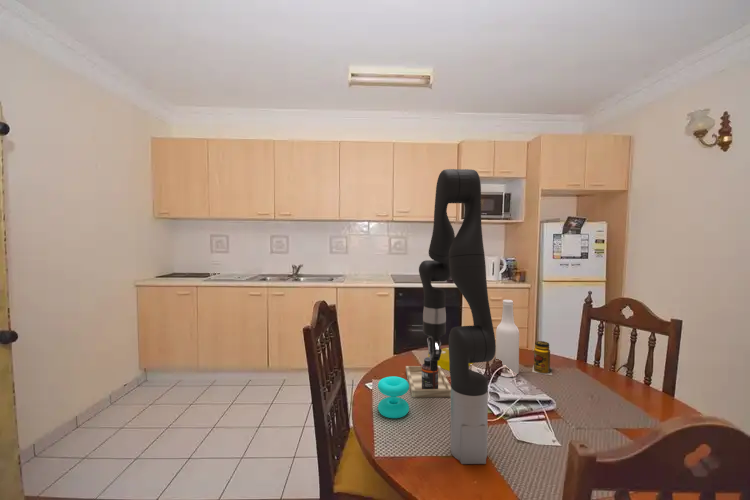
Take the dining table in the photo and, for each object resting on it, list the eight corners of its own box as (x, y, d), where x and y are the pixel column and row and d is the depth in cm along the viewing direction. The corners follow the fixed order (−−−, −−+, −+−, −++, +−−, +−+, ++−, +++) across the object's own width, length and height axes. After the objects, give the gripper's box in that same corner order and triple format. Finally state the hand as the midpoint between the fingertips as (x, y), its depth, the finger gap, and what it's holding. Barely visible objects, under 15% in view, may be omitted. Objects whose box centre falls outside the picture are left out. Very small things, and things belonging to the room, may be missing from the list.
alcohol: (497, 367, 146) (498, 297, 144) (519, 371, 141) (520, 299, 140) (493, 375, 138) (494, 301, 136) (517, 379, 134) (518, 303, 132)
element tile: (453, 373, 141) (453, 362, 140) (426, 363, 152) (426, 352, 152) (475, 364, 150) (475, 354, 150) (447, 355, 162) (447, 345, 161)
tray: (452, 397, 119) (452, 390, 119) (412, 397, 119) (412, 390, 119) (439, 372, 141) (439, 365, 141) (405, 372, 141) (405, 366, 141)
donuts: (407, 374, 114) (410, 388, 104) (407, 404, 115) (410, 420, 105) (377, 374, 115) (377, 388, 105) (377, 404, 115) (377, 420, 105)
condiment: (532, 372, 141) (532, 343, 140) (533, 365, 148) (533, 338, 148) (552, 375, 137) (552, 346, 137) (552, 368, 145) (552, 340, 144)
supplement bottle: (437, 386, 127) (437, 356, 126) (439, 393, 121) (439, 362, 120) (421, 385, 127) (421, 355, 127) (421, 393, 121) (421, 361, 121)
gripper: (450, 325, 108) (449, 378, 109) (441, 314, 121) (440, 362, 123) (426, 325, 108) (425, 378, 109) (420, 314, 121) (419, 362, 122)
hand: (433, 370), depth 116 cm, fingers closed
